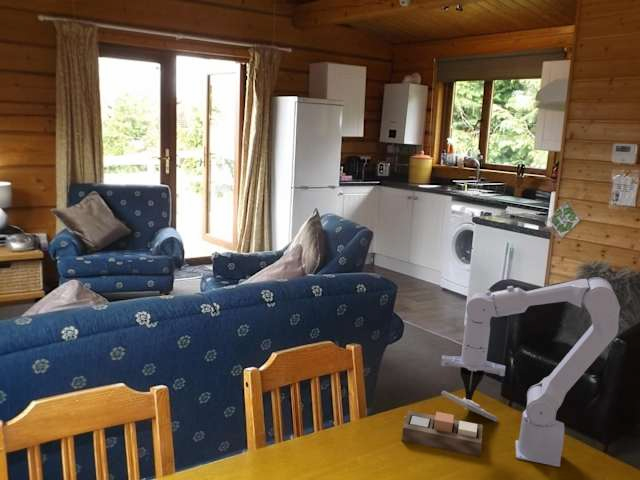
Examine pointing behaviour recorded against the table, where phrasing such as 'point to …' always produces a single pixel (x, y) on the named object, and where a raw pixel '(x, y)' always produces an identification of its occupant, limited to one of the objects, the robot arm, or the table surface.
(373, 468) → the table surface
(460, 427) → the ivory key
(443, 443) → the brown slotted tray
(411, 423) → the slate key
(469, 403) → the light switch
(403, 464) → the table surface
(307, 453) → the table surface
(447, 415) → the rust key
